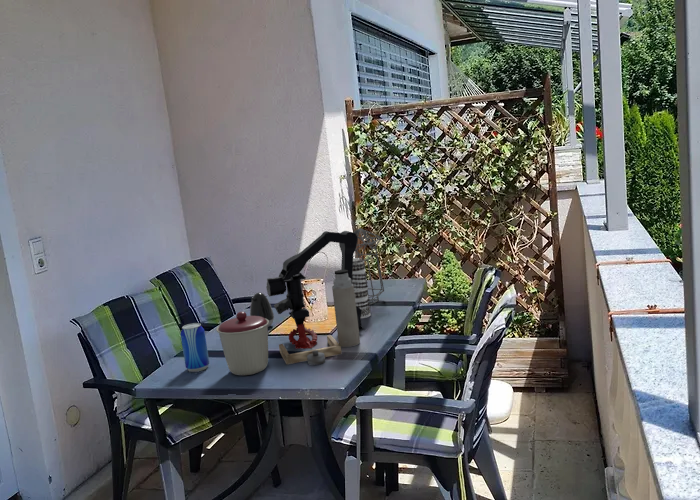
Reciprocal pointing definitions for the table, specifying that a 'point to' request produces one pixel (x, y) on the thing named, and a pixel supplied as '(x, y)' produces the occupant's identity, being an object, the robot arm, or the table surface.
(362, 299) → the decorative candle
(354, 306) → the thermos bottle
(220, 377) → the table surface
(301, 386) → the table surface
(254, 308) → the dark grey rounded cone
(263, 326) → the canister
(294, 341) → the red cog wheel
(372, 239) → the geometric lantern
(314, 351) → the carrier
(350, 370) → the table surface
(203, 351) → the beer can
